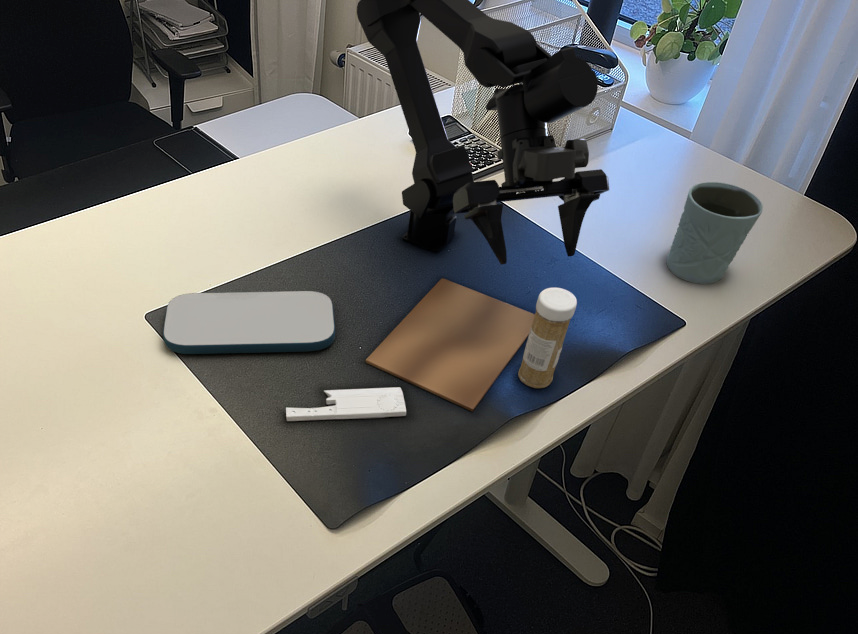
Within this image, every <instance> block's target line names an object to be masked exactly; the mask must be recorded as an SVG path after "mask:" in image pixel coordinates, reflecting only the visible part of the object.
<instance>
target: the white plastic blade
mask: <svg viewBox="0 0 858 634" xmlns="http://www.w3.org/2000/svg"><path fill="white" fill-rule="evenodd" d="M323 393H325V395H326V396H327V397H326V399H325V404H326V405H328V406H321V407H308V408H307V407H285V414H286V415H285V417H286V422H299V421H301V422H302V421H321V420H322V421H325V420H347V419H348V420H350V419H352V420H353V419H354V420H355V419H369V418H378V419H383V418H389V417H406V416H407V408H406V401H405V398H404V392H403V390H402V388H401V387H400V386H399V387H398V386H395V387H394V386H393V387H373V388H350V389H349V388H348V389H347V388H346V389H327V390H323Z"/></svg>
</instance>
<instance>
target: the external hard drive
mask: <svg viewBox="0 0 858 634" xmlns="http://www.w3.org/2000/svg"><path fill="white" fill-rule="evenodd" d="M163 321H164V322H163V328H162V340H163V343H164V346H165V347H166V348H167V349H168V350H169V351H171V352H174V353H177V354H183V355H211V354H212V355H214V354H252V353H253V354H255V353H261V354H262V353H299V352H300V353H301V352H305V353H307V352H315V351H321V350H324V349H327V348H329V347H330V346H331V345H332V344H333V343H334V342H335V339H336V320H335V308H334V303H333V301H332V298H331V297H330V296H328V295H327V294H325V293H322V292H320V291H315V290H282V291H281V290H278V291H277V290H276V291H231V292H230V291H228V292H227V291H225V292H189V293H183V294H179V295H177V296H175V297H173V298H171V300H170V301H169V302H168V303H167V305H166V308H165V315H164V320H163Z"/></svg>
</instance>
